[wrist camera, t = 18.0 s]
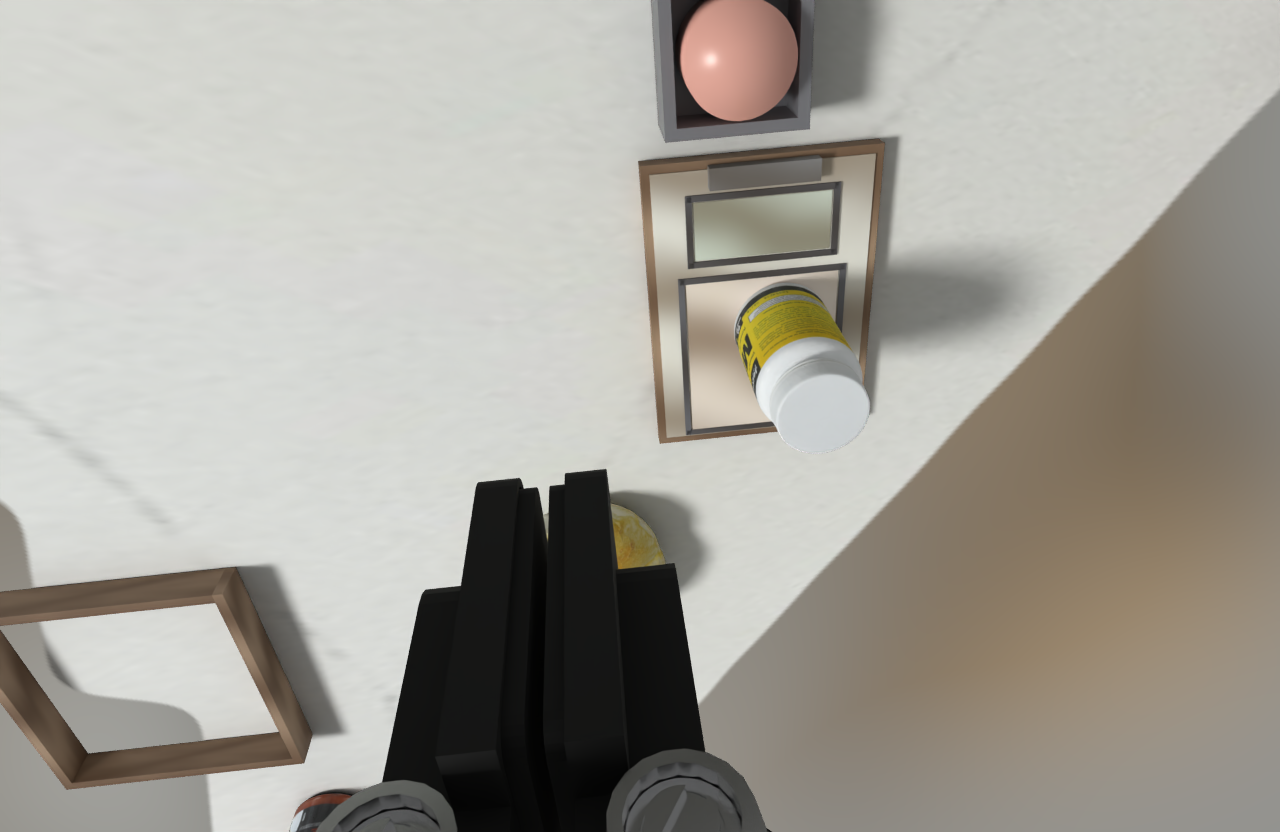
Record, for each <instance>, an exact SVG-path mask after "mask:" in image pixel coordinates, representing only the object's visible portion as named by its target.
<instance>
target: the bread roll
mask: <svg viewBox="0 0 1280 832" xmlns="http://www.w3.org/2000/svg"><path fill="white" fill-rule="evenodd" d="M611 511H612V520H613V528H614V537H615V545H616V554H617V562H618V569H625V568H634V567H644V566H653V565H662V564H665V558H664V555H663V553H662V551H661V549H660V547H659V544H658V541H657V538H656V536H655V534H654V532H653V531H652V529H651V528H650V527H649V526H648V524H647V523H646V522H645V521H644V520H643V519H642V518H640V517H639V516H637V515H636V514H635V513H634V512H632V511H630V510H628V509H626V508H624V507H622V506H619V505H614V504H611ZM543 518H544V523H545V529H546V534H547V540H548V520H549V513H547V514H545V515H543Z"/></svg>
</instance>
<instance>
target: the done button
mask: <svg viewBox="0 0 1280 832" xmlns="http://www.w3.org/2000/svg"><path fill="white" fill-rule="evenodd" d="M675 56H676V63H677V67H678V70H679V73H680V75H681V77H682V79H683V81H684V83H685V84H686V86H687V88H688V89H689V91H690V93H691V94H692V96H693V97H694V99H695V100H696V102H697V103H698V104H699V105H700V106H701V107H702V108H703V109H704V110H706V111H707V112H708V113H710V114H711V115H713V116H715V117H718V118H720V119H724V120H728V121H744V120H750V119H753V118H756V117H758V116H761V115H763V114H764V113H766V112H768V111H769V110H770V109H772V108H773V107H774V106H775V105H776V104H777V103H778V102H779V101H780V100H781V99H782V98H783V97H784V95H785V94H786V92H787V91H788V89H789V88H790V85H791V83H792V81H793V79H794V76H795V73H796V68H797V62H798V47H797V41H796V37H795V34H794V31H793V29H792V27H791V25H790V23H789V21H788V20H787V18H786V17H785V16H784V15H783V14H782V13H781V12H780V11H779V10H778V9H777V8H776V7H774V6H773V5H771V4H769V3H768V2H766V1H764V0H700V1H699V2H698V3H696V4H695V5H694V6H693V7H692V8H691V9H690V11H689V12H688V13H687V15H686V16H685V18H684V20H683V22H682V23H681V26H680V28H679V31H678V35H677V38H676V46H675Z"/></svg>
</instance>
